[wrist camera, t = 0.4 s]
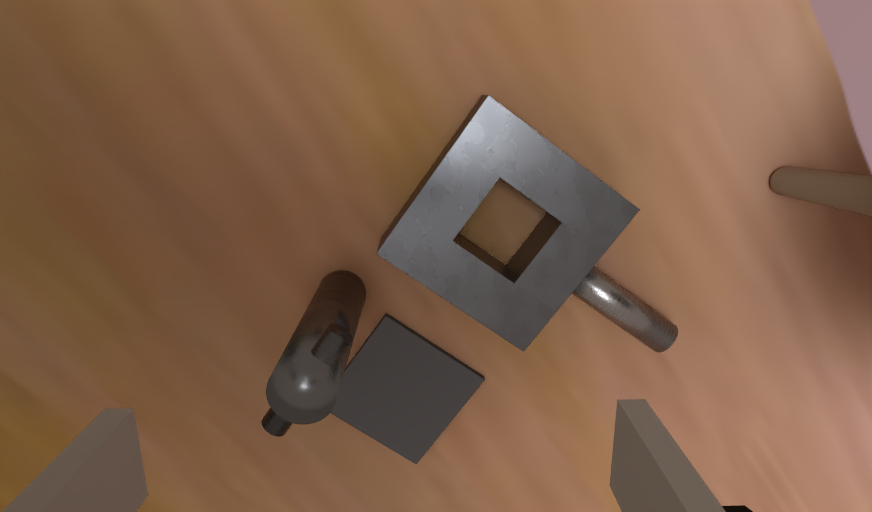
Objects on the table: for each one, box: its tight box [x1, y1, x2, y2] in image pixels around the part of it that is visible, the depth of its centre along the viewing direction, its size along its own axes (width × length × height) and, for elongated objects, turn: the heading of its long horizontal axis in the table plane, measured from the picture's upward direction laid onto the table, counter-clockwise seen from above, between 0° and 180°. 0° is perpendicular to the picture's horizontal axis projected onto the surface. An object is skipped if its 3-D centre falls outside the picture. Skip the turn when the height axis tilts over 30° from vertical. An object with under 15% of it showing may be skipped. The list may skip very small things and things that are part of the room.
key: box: [262, 270, 366, 436], centre depth 35 cm, size 3×6×14 cm, turn 145°
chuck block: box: [376, 95, 678, 352], centre depth 39 cm, size 21×12×4 cm, turn 55°
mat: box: [330, 314, 485, 464], centre depth 44 cm, size 9×9×1 cm
